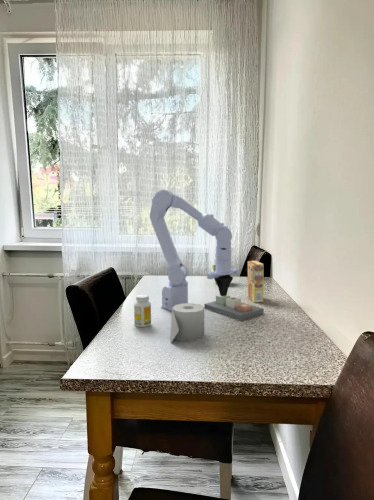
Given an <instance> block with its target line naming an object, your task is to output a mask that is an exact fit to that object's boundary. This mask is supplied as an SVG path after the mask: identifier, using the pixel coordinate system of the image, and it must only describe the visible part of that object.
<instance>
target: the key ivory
mask: <svg viewBox="0 0 374 500" xmlns="http://www.w3.org/2000/svg"><path fill="white" fill-rule="evenodd" d="M241 302H242V298H240V297H235V296H230V298H226V307H229V308H233V309H235V308H236V307H237V305H240V304H241Z"/></svg>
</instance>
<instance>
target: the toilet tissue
mask: <svg viewBox="0 0 374 500" xmlns="http://www.w3.org/2000/svg"><path fill="white" fill-rule="evenodd" d="M170 318H171V320H170V331H169V332H170V334H169V335H170V336H169V341H170V343H172V342H173V340H177V341H181V342H196V341H200V340H202V339H203V338H204V336H205V309H204V306H203V305H202V304H198V303H193V302H190V303H189V302H188V303H182V304H178V305H175V306H174V307H173V308H172V311H171V317H170Z"/></svg>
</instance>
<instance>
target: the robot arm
mask: <svg viewBox="0 0 374 500" xmlns="http://www.w3.org/2000/svg"><path fill="white" fill-rule="evenodd" d="M170 208H172V209H180V210H182V211H183V212H184V213H186V214H187V215H189V217H192V218H193V219H194V220H196V221H197V226H198V227H199V228H201V230H203V231H205V232H206V233H207V234H209V235H210V236H212V237H215V240H216V246H215V265H216V271H214V270H213V271H211V272H208V273H206V275H207V276H206V279H208V280H214V282H215V281H216V283H217V284H216V283H215V284H216V285H217V288H218V290H219V295H221V296H226V295H227V294H228V291H229V287H230V285H231V283H232V281H233V279H234V278H233V277H234V275H239V274H240V273H239V272H240V271H239V268H235V267H234V268H232V267H231V266H232V238H233V234H232V231H231V229H230V228H229V227H228V226H226V225H225V223H224V222H220V221H219V220H218V219H216V218H215V217H214V215H213V213H211V214H210V213H208V212H207V213H202V212H201V211H199V210H198V209H197V208H196V207H195V206H193V205H192V204H190V203H189V202H188V201H187V200H185V199H184V198H183V197H181V196H179V195H178V194H175V193H173V192H172V191H170V190H166V189H159V190H158V191H156V192H155V194H154V195H153V197H152V199H151V207H150V211H149V219H150V222H151V225H152V227H153V231H154V233H155V235H156V238H157V241H158V243H159V245H160V249H161V251H162V253H163V257H164V259H165V261H166V269H167V271H168V274H167V275H168V280H169V281H168V284H167V285H165V286H163V287H162V289H161V304H162V305H160V306H161V308H163V309H165V310H168V311H169V312H172V308H173V307H174V306H175V305H178V304H182V303H189V282H188V281H187V280H186V279H187V277H188V273H189V271H188V268H187V267H186V266H185V265H184V264H183V262H182V259H181V258H180V257H179V254H178V252H177V250H176V247H175V244H174V241H173V238H172V237H171V232H170V230H169V229H168V226H167V222H166V220H165V217H166V214H167V212H168V210H169V209H170Z"/></svg>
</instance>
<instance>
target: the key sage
mask: <svg viewBox="0 0 374 500" xmlns="http://www.w3.org/2000/svg"><path fill="white" fill-rule="evenodd" d="M230 297H231V295H226V296H221V295H220V294H217V295H216V296H215V301H216V304H219V305H223V306H224V305H226V298H230Z"/></svg>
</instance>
